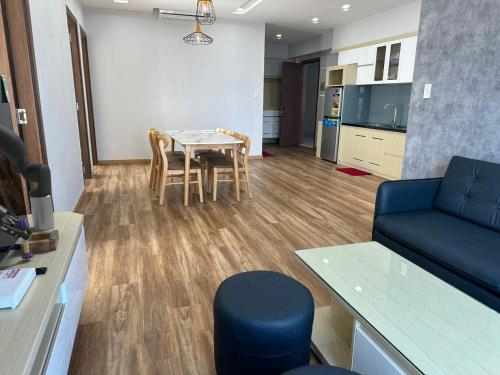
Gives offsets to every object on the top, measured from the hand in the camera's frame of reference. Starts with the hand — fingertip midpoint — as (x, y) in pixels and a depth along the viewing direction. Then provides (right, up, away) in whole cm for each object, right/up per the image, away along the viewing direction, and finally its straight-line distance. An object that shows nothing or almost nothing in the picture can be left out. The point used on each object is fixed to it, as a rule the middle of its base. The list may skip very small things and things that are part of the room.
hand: (29, 236), depth 143 cm
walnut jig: (-4, -7, +15) cm, 17 cm away
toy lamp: (-2, -9, +1) cm, 10 cm away
